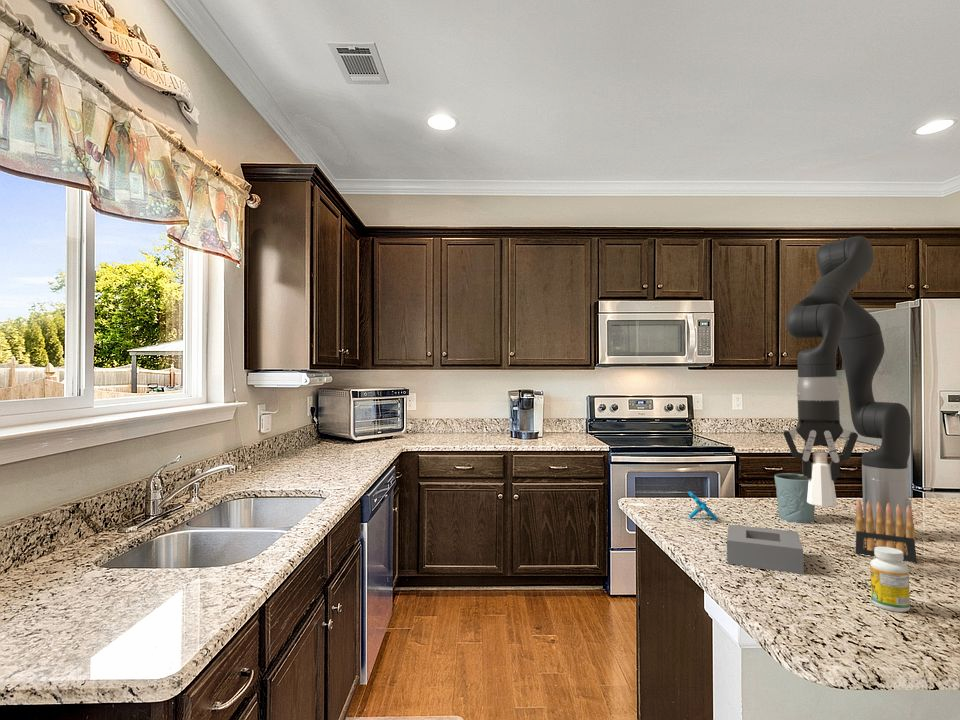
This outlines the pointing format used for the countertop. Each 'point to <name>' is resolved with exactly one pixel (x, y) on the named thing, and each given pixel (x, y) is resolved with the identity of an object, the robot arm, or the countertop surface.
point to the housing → (765, 548)
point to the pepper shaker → (821, 482)
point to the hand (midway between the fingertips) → (820, 478)
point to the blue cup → (793, 498)
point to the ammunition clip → (888, 538)
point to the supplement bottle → (890, 580)
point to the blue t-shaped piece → (700, 507)
